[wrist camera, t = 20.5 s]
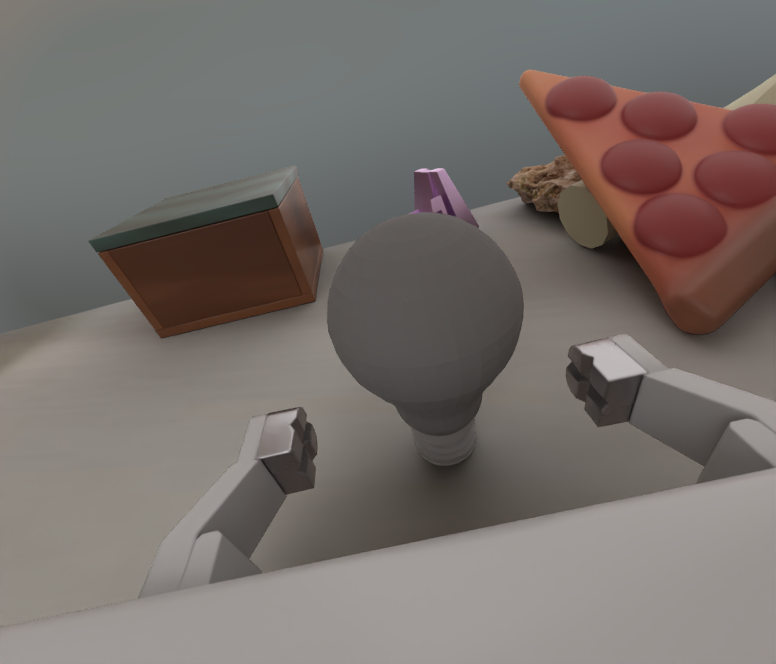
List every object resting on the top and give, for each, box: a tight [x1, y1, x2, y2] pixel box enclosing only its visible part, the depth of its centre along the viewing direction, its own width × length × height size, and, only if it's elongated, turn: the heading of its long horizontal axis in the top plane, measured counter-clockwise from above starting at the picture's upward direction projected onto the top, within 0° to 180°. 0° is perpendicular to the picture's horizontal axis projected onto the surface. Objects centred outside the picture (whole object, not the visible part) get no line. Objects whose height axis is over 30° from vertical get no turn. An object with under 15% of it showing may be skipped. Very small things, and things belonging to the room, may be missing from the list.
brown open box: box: [98, 177, 323, 338], centre depth 31 cm, size 12×14×8 cm
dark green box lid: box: [89, 166, 298, 252], centre depth 29 cm, size 12×14×1 cm
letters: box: [410, 169, 479, 228], centre depth 33 cm, size 8×7×6 cm
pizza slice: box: [519, 70, 776, 334], centre depth 21 cm, size 18×2×20 cm
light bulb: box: [327, 212, 524, 466], centre depth 12 cm, size 6×6×10 cm
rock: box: [507, 155, 582, 213], centre depth 33 cm, size 17×5×10 cm
